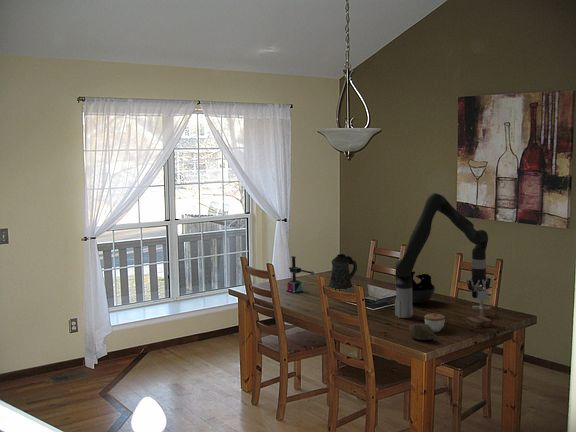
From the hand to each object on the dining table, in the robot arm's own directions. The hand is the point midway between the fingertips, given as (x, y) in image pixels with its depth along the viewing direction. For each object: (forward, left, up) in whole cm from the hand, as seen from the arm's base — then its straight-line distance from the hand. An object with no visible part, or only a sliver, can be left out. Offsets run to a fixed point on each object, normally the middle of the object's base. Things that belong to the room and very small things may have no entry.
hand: (478, 297), depth 345 cm
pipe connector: (+10, +13, -15) cm, 23 cm away
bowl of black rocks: (-9, +53, -15) cm, 56 cm away
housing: (0, 0, 0) cm, 1 cm away
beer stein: (-41, +103, -15) cm, 112 cm away
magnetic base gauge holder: (-70, +109, -15) cm, 130 cm away
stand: (0, 0, -15) cm, 15 cm away
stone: (-41, -11, -15) cm, 45 cm away
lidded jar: (-27, 0, -15) cm, 31 cm away
